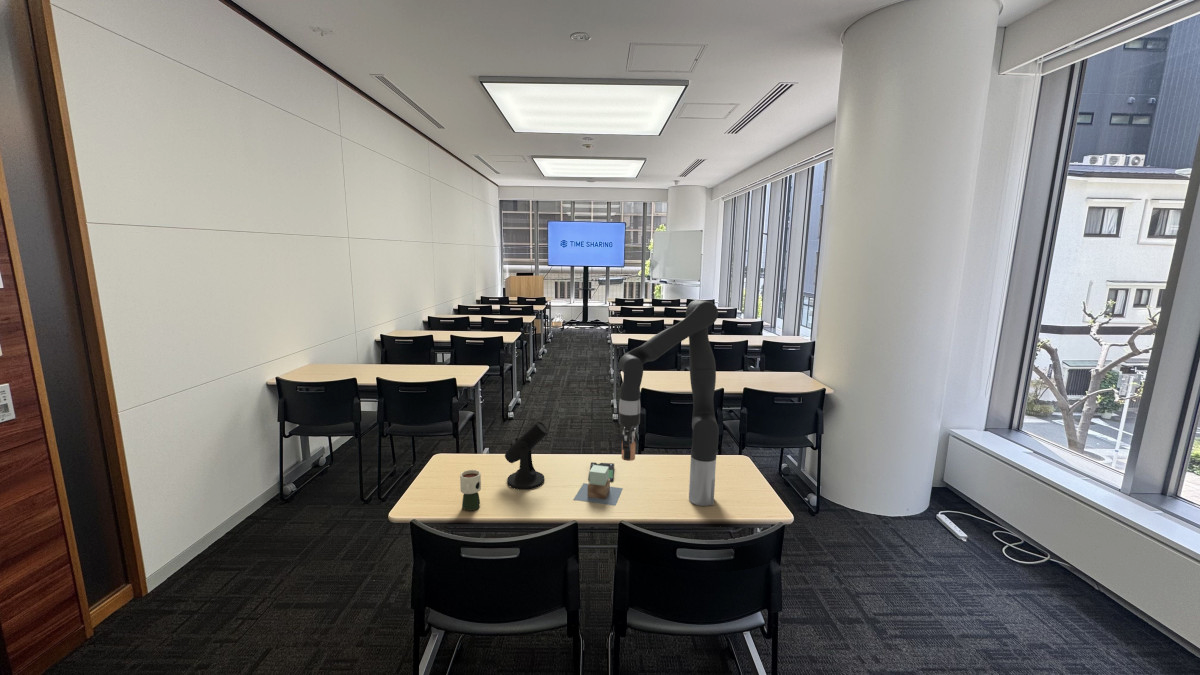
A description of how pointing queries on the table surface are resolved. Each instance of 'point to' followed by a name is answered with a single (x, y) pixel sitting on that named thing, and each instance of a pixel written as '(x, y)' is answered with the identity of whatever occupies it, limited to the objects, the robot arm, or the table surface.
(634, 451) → the terracotta cylinder
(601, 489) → the walnut block
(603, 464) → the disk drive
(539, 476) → the microphone
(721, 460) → the table surface
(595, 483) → the sage block
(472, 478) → the character mug
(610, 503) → the slate mat
